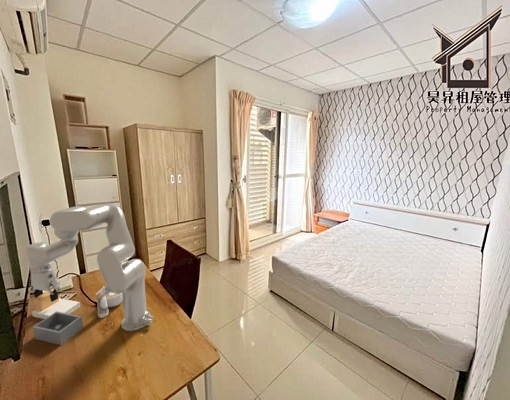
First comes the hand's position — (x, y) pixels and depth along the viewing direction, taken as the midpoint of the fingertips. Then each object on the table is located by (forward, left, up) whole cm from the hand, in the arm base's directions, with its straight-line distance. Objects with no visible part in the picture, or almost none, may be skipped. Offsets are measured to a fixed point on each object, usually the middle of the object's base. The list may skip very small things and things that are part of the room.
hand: (46, 298), depth 116 cm
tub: (-20, +11, -6) cm, 24 cm away
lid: (-5, 0, -6) cm, 8 cm away
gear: (-16, -19, -3) cm, 25 cm away
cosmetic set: (-28, -12, -7) cm, 31 cm away
